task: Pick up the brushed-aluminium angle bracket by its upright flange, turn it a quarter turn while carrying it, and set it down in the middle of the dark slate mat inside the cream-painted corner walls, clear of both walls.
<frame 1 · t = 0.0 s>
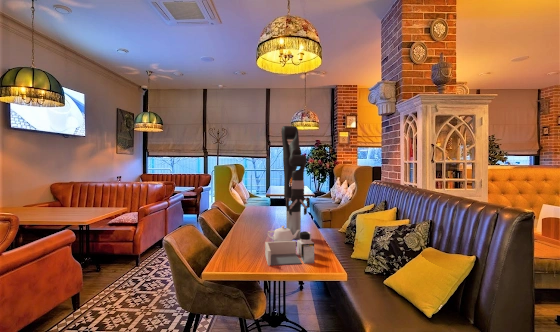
hand: (297, 214, 176), 17 cm above the table, tool pointing down, fingers open, 8 cm apart
teapot: (283, 242, 179), on the table
bracket: (307, 260, 147), on the table
medicine bottle: (305, 254, 156), on the table
corner walls: (283, 259, 148), resting in slate mat
slate mat: (283, 259, 148), on the table
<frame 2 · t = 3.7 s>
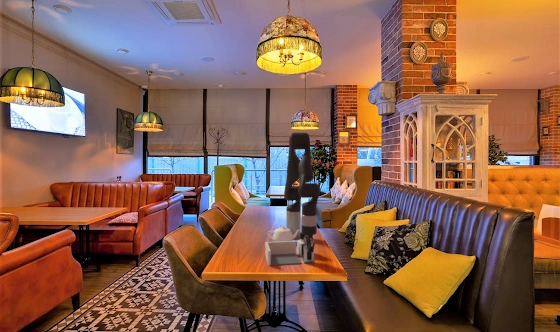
hand: (308, 258, 144), 2 cm above the table, tool pointing down, fingers closed on bracket
bracket: (307, 260, 147), on the table, touching gripper
everything else where it was.
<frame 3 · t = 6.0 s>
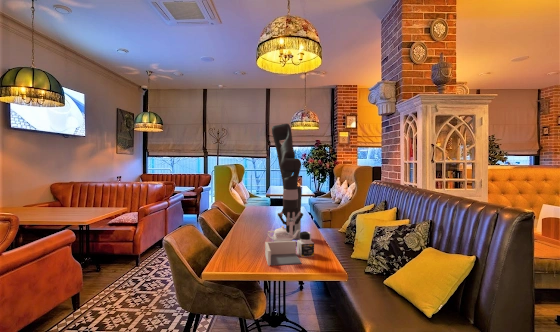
hand: (290, 232, 148), 14 cm above the table, tool pointing down, fingers closed on bracket
bracket: (283, 236, 147), point 12 cm above the table, touching gripper
everything else where it was.
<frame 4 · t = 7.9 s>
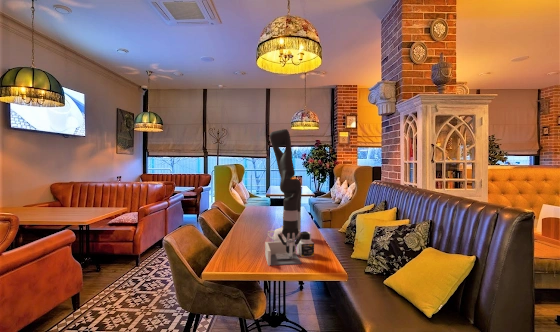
hand: (290, 252, 148), 4 cm above the table, tool pointing down, fingers closed on bracket
bracket: (283, 257, 148), point 1 cm above the table, touching gripper
everything else where it was.
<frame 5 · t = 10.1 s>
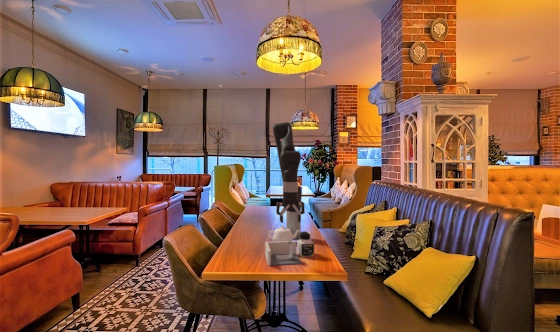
hand: (290, 222, 148), 19 cm above the table, tool pointing down, fingers open, 8 cm apart
bracket: (284, 258, 148), point 1 cm above the table, touching slate mat
everything else where it was.
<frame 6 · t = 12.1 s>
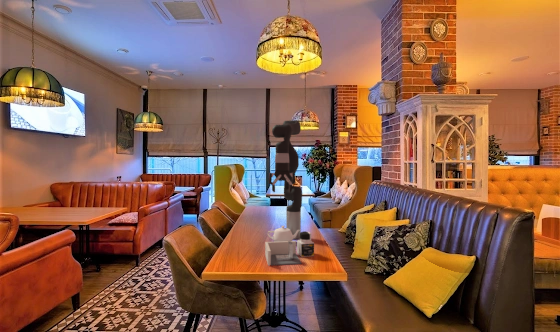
hand: (282, 192, 158), 33 cm above the table, tool pointing down, fingers open, 8 cm apart
nothing on the table moved.
at the end: bracket inside the target area on the slate mat (0.5 cm from its centre), point 0.6 cm above the slate mat's base; bracket tilted 0°; bracket touching slate mat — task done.
